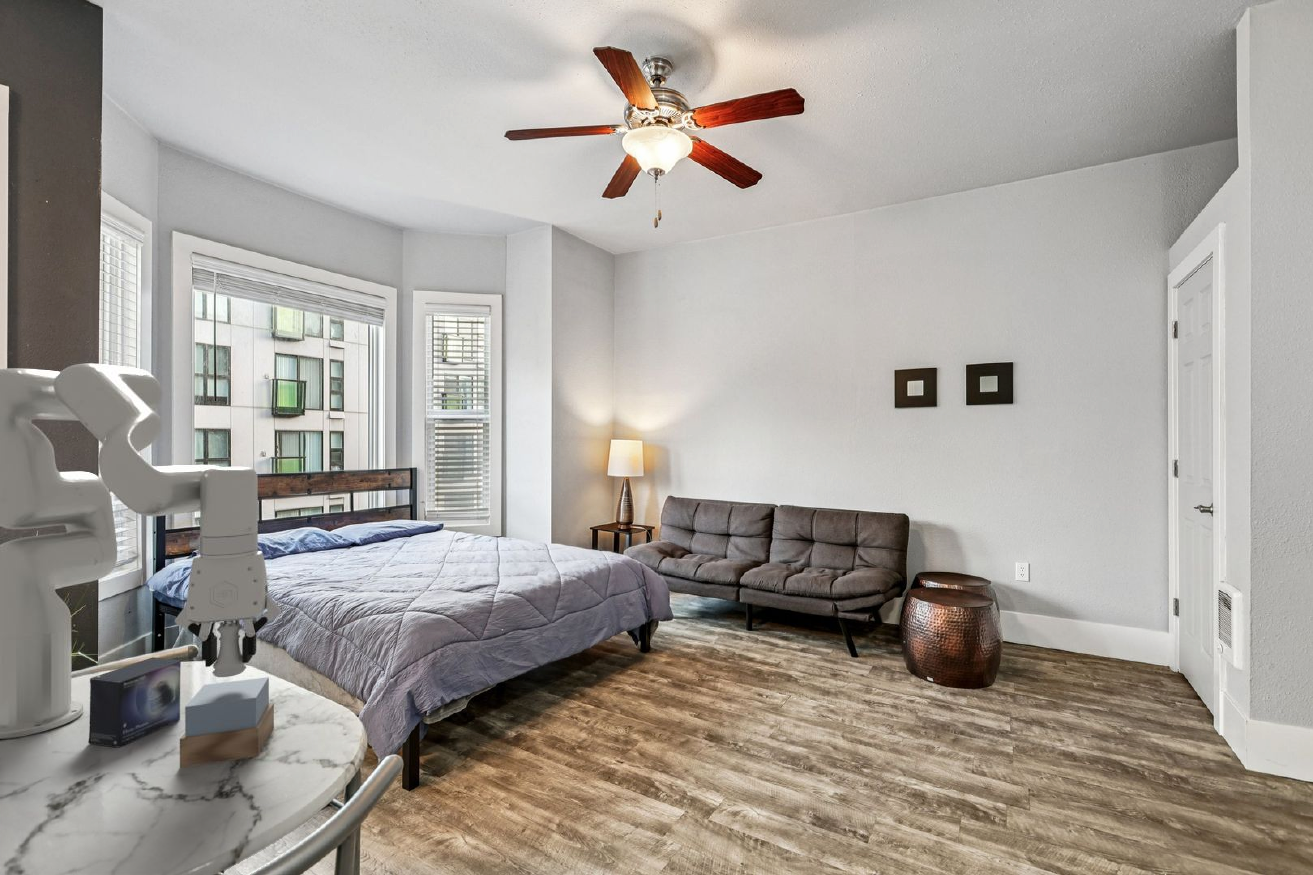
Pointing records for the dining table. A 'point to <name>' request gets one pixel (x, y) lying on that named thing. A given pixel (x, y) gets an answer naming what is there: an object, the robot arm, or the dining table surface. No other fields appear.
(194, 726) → the slate-blue block
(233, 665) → the rook chess piece
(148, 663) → the small box
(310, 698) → the dining table surface
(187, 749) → the walnut block
